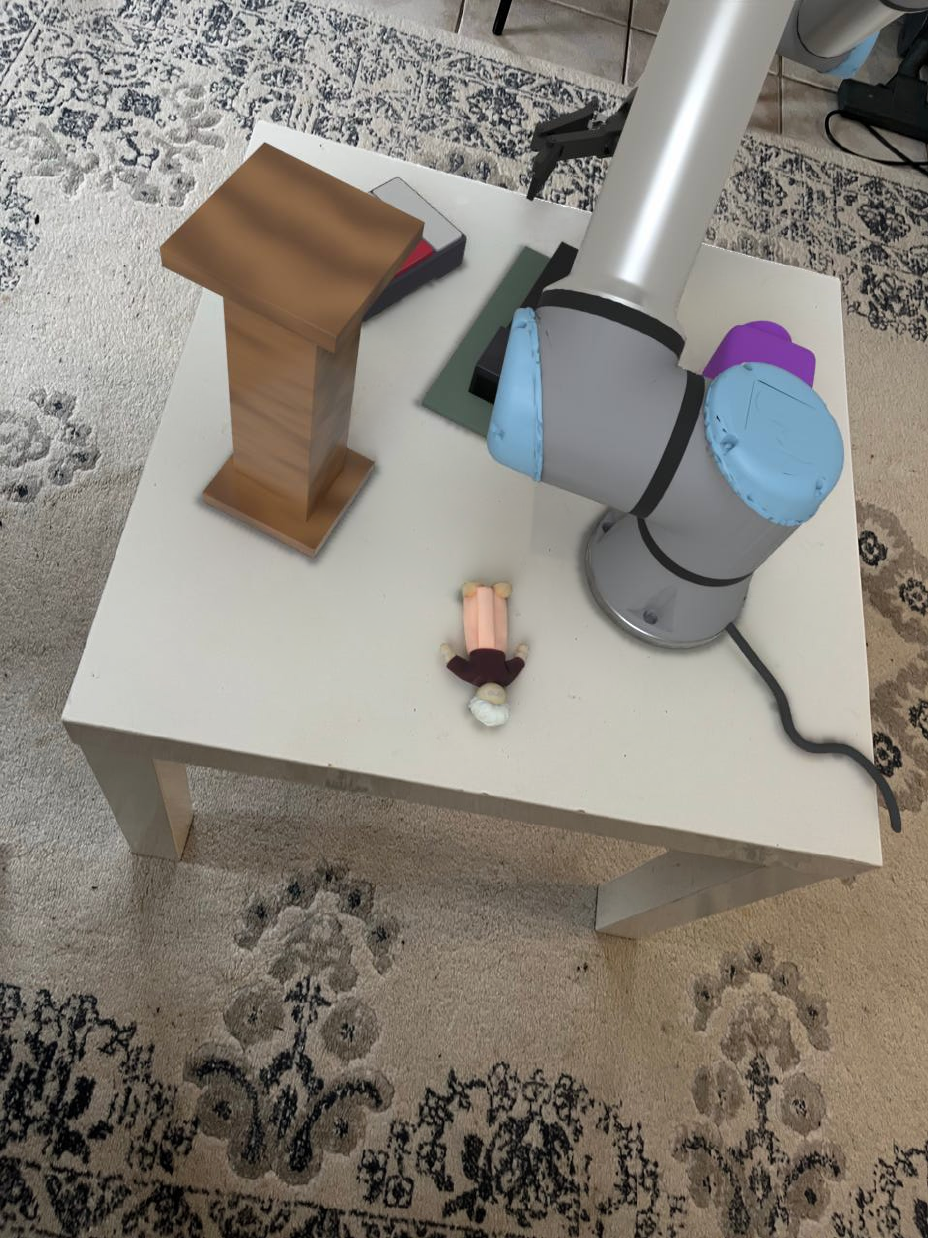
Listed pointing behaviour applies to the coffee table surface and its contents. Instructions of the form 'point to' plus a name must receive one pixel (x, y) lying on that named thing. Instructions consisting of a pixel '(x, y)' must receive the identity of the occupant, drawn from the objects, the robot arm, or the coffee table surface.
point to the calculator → (432, 253)
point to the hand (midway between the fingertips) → (589, 217)
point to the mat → (482, 347)
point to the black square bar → (494, 354)
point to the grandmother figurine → (486, 651)
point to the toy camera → (762, 351)
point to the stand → (291, 333)
